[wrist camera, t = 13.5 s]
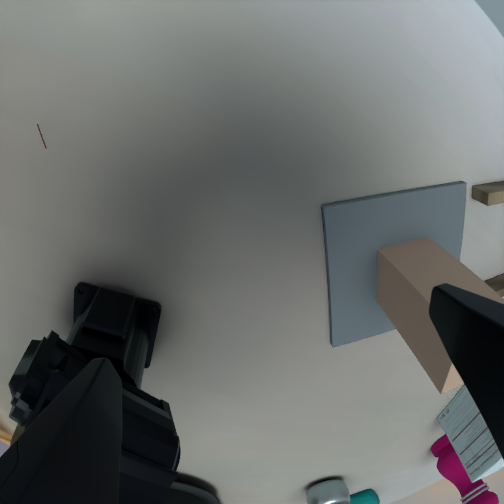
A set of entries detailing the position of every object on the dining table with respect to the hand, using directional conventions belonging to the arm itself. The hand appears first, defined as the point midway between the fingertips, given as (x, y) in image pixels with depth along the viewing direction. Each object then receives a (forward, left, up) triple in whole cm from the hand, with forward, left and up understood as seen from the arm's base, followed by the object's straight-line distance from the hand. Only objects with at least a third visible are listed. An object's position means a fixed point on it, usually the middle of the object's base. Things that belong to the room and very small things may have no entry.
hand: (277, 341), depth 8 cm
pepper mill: (-28, -46, -13) cm, 55 cm away
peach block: (-1, -13, -12) cm, 18 cm away
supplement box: (-17, -39, -13) cm, 45 cm away
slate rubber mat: (-1, -13, -13) cm, 19 cm away
